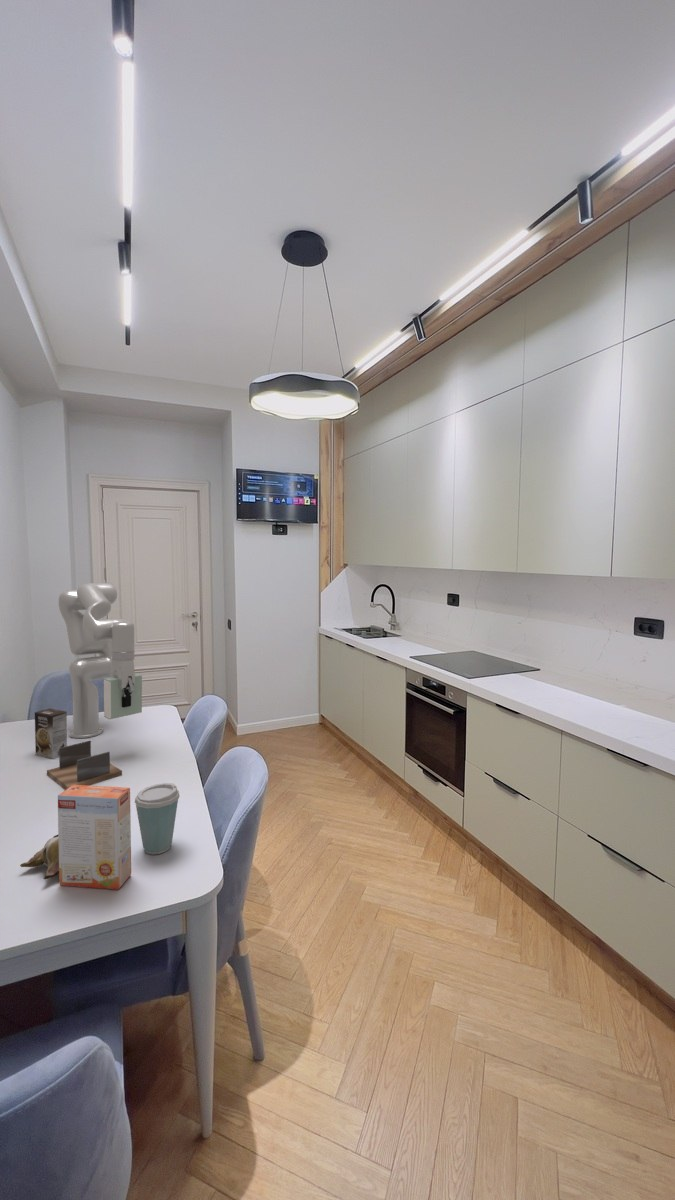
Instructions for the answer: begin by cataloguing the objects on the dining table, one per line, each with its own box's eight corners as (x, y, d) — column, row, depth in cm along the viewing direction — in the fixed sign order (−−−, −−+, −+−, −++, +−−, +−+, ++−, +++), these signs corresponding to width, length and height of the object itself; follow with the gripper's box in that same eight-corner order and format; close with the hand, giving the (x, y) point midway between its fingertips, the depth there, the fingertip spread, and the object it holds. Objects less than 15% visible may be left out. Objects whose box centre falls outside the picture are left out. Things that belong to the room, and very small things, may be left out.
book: (104, 716, 178) (103, 678, 177) (136, 709, 187) (136, 673, 186) (109, 719, 175) (109, 680, 174) (141, 712, 184) (141, 675, 183)
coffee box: (34, 755, 182) (33, 712, 181) (50, 749, 188) (49, 707, 187) (52, 759, 179) (51, 715, 178) (68, 753, 185) (67, 710, 184)
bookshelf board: (46, 774, 166) (46, 749, 165) (98, 760, 179) (98, 737, 178) (68, 791, 154) (67, 765, 154) (121, 775, 167) (121, 750, 166)
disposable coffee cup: (135, 863, 118) (134, 802, 117) (134, 840, 128) (133, 784, 127) (181, 854, 122) (181, 795, 121) (177, 832, 132) (177, 777, 131)
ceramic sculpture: (104, 820, 121) (43, 855, 108) (107, 853, 122) (46, 891, 109) (77, 809, 126) (16, 841, 113) (80, 841, 127) (19, 876, 114)
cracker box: (132, 874, 114) (131, 786, 113) (118, 891, 108) (117, 798, 107) (75, 869, 116) (73, 782, 114) (58, 886, 110) (56, 794, 108)
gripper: (102, 653, 182) (102, 702, 183) (123, 660, 171) (124, 712, 172) (122, 651, 187) (122, 698, 189) (144, 657, 176) (144, 708, 178)
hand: (123, 704), depth 181 cm, fingers closed on book, 4 cm apart
